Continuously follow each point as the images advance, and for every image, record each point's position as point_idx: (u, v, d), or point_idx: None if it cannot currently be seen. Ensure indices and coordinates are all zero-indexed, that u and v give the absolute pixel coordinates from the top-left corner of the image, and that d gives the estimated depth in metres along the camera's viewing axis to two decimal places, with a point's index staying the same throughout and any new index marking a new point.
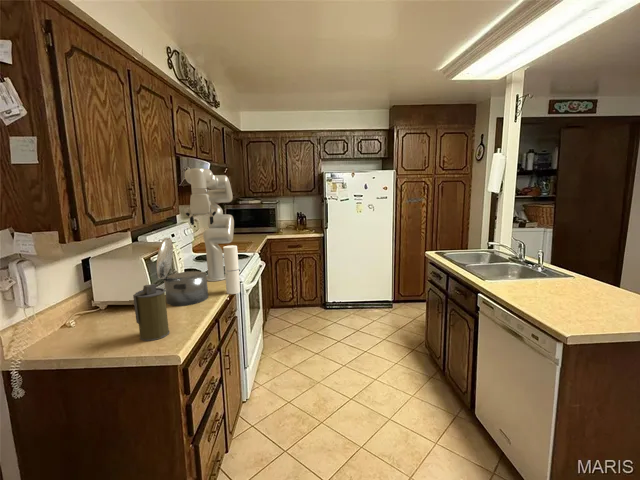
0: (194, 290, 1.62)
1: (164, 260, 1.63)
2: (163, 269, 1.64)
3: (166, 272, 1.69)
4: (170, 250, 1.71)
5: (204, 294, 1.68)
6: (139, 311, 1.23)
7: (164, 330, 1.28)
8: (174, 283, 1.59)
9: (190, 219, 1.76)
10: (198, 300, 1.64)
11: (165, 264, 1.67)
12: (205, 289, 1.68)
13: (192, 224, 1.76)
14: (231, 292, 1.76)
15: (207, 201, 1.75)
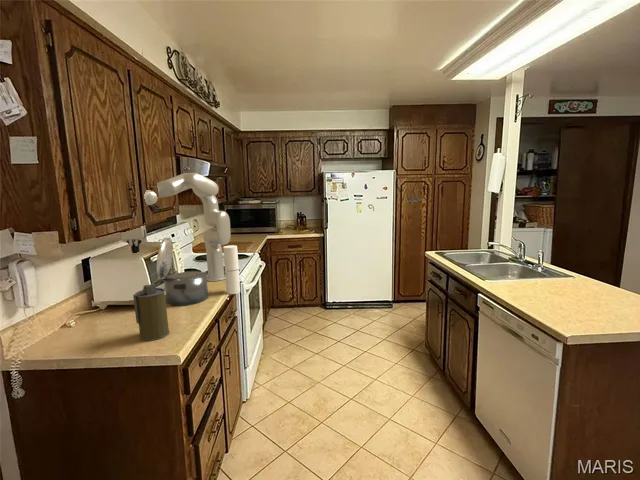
0: (194, 290, 1.62)
1: (164, 260, 1.63)
2: (163, 269, 1.64)
3: (166, 272, 1.69)
4: (170, 250, 1.71)
5: (204, 294, 1.68)
6: (139, 311, 1.23)
7: (164, 330, 1.28)
8: (174, 283, 1.59)
9: (131, 247, 1.62)
10: (198, 300, 1.64)
11: (165, 264, 1.67)
12: (205, 289, 1.68)
13: None
14: (231, 292, 1.76)
15: None
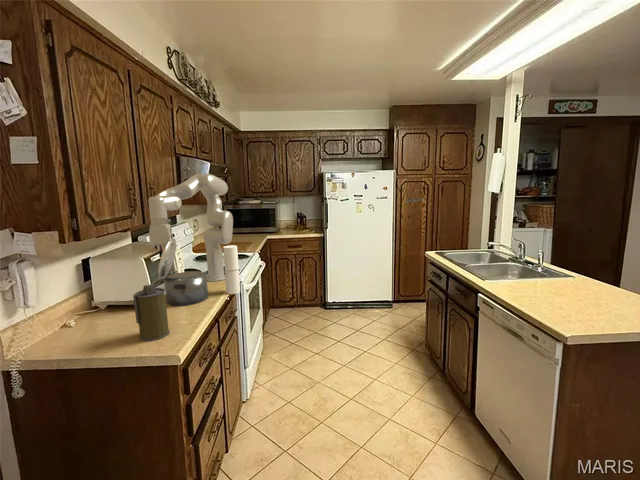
0: (194, 290, 1.62)
1: (166, 260, 1.63)
2: (164, 269, 1.64)
3: (167, 272, 1.69)
4: (173, 251, 1.71)
5: (204, 294, 1.68)
6: (139, 311, 1.23)
7: (164, 330, 1.28)
8: (174, 283, 1.59)
9: (159, 253, 1.64)
10: (198, 300, 1.64)
11: (167, 264, 1.67)
12: (205, 289, 1.68)
13: None
14: (231, 292, 1.76)
15: (167, 232, 1.62)
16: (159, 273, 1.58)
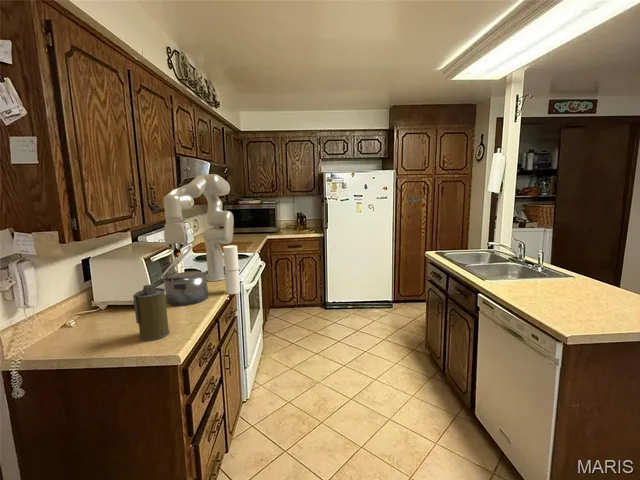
0: (194, 290, 1.62)
1: (175, 264, 1.64)
2: (169, 271, 1.64)
3: (168, 273, 1.69)
4: (184, 256, 1.73)
5: (204, 294, 1.68)
6: (139, 311, 1.23)
7: (164, 330, 1.28)
8: (174, 283, 1.59)
9: (174, 251, 1.65)
10: (198, 300, 1.64)
11: (173, 267, 1.67)
12: (205, 289, 1.68)
13: (176, 257, 1.65)
14: (231, 292, 1.76)
15: (182, 230, 1.63)
16: (163, 274, 1.59)
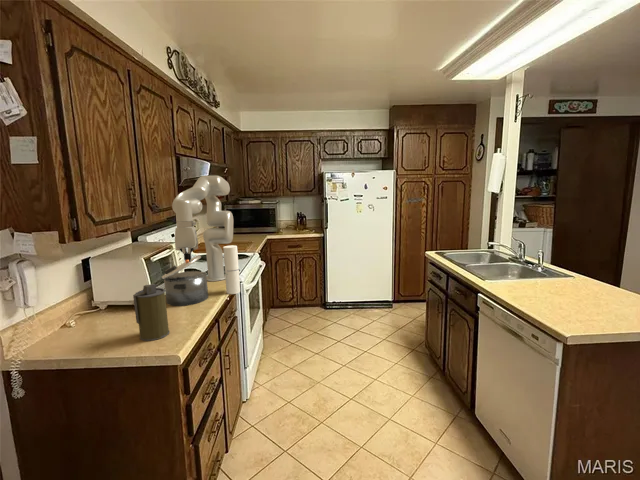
0: (194, 290, 1.62)
1: None
2: None
3: None
4: None
5: (204, 294, 1.68)
6: (139, 311, 1.23)
7: (164, 330, 1.28)
8: (174, 283, 1.59)
9: (184, 255, 1.66)
10: (198, 300, 1.64)
11: None
12: (205, 289, 1.68)
13: None
14: (231, 292, 1.76)
15: (193, 234, 1.64)
16: (166, 276, 1.59)
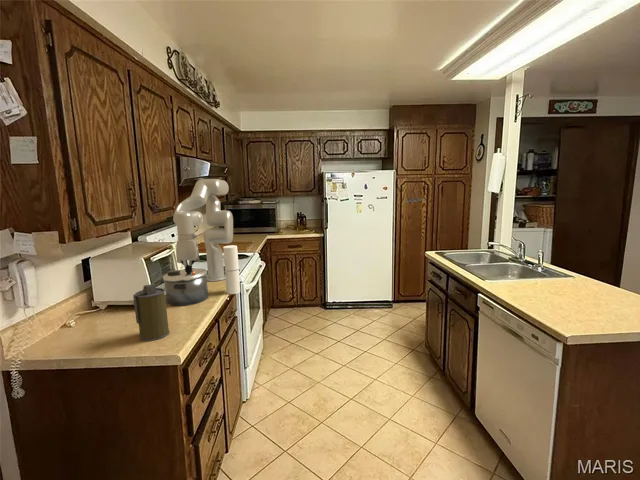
0: (194, 290, 1.62)
1: None
2: None
3: None
4: None
5: (204, 294, 1.68)
6: (139, 311, 1.23)
7: (164, 330, 1.28)
8: (174, 283, 1.59)
9: (185, 268, 1.67)
10: (198, 300, 1.64)
11: None
12: (205, 289, 1.68)
13: (187, 273, 1.67)
14: (231, 292, 1.76)
15: (194, 247, 1.65)
16: (168, 280, 1.59)
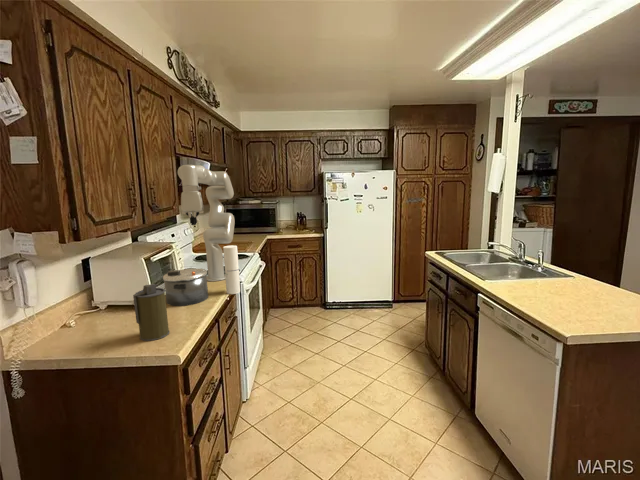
0: (194, 290, 1.62)
1: None
2: None
3: None
4: None
5: (204, 294, 1.68)
6: (139, 311, 1.23)
7: (164, 330, 1.28)
8: (174, 283, 1.59)
9: (190, 219, 1.72)
10: (198, 300, 1.64)
11: None
12: (205, 289, 1.68)
13: (192, 224, 1.72)
14: (231, 292, 1.76)
15: (198, 198, 1.70)
16: (168, 280, 1.59)
